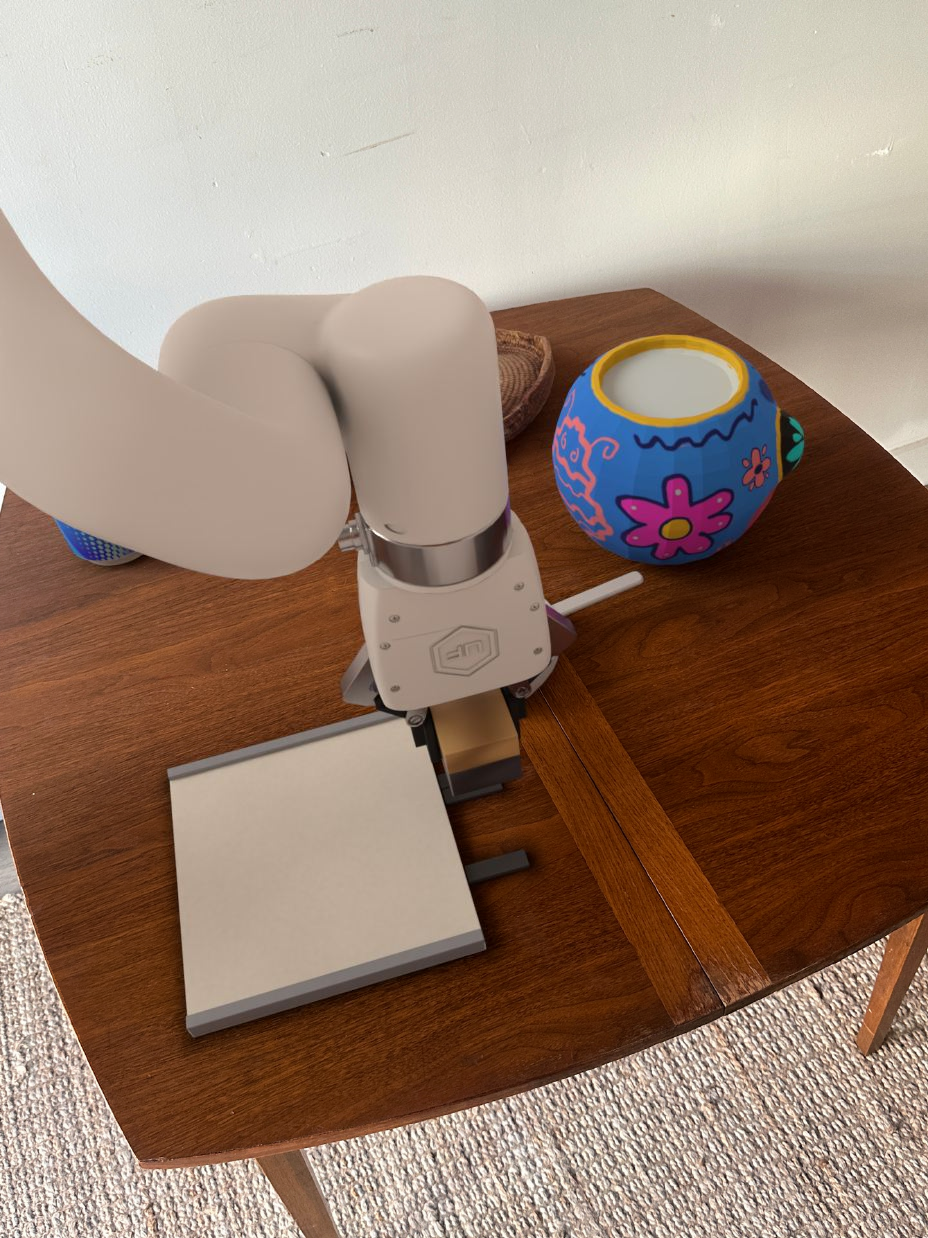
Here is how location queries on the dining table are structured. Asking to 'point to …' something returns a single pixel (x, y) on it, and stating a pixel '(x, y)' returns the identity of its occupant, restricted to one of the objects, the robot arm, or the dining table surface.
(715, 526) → the ceramic pot
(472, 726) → the eraser
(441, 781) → the bar
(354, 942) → the whiteboard
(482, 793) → the marker stroke
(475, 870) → the block
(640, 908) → the dining table surface
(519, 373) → the basket
